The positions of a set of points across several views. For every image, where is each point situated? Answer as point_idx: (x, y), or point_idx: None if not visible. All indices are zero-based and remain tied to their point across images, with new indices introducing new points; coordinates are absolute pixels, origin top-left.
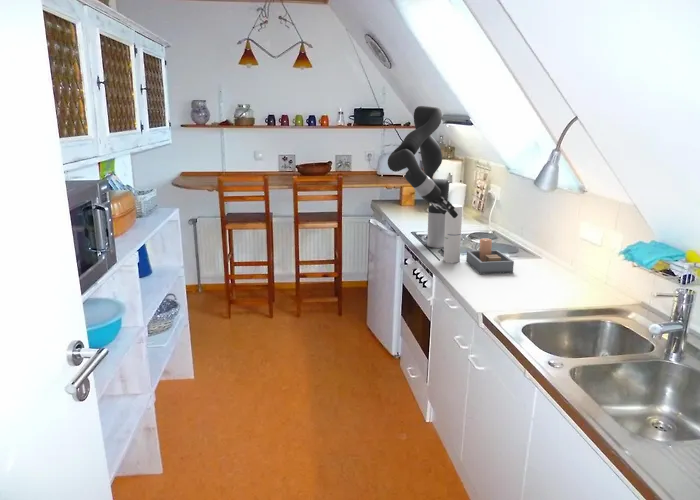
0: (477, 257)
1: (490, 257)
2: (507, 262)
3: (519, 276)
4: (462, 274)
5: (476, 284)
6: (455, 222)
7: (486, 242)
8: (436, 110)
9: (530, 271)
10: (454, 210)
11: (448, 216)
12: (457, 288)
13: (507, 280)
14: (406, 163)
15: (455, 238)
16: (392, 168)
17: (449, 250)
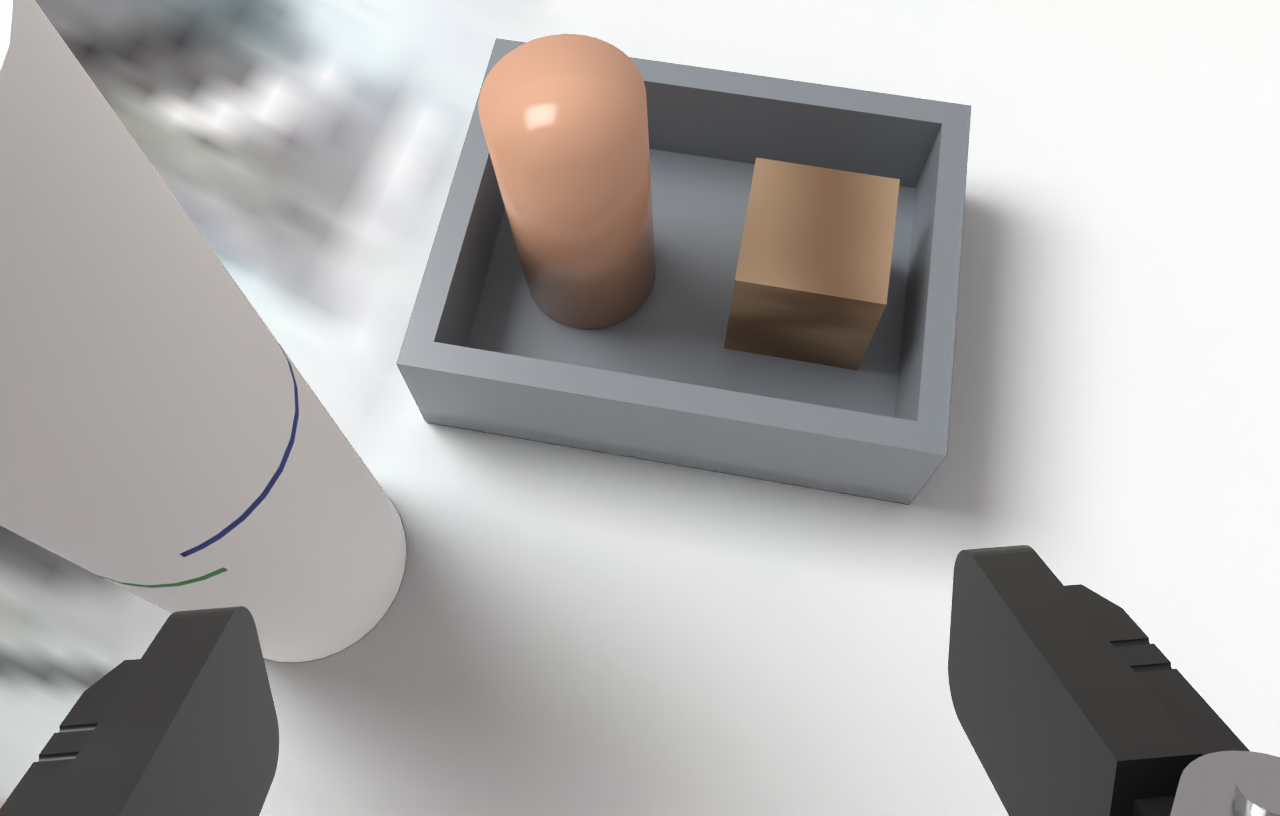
0: (473, 289)
1: (859, 277)
2: (963, 170)
3: (1047, 186)
4: (870, 700)
5: (1257, 722)
6: (194, 344)
7: (638, 140)
8: None
9: (920, 34)
10: (1129, 669)
11: None
12: None
13: (1153, 345)
14: None
15: (312, 461)
16: None
17: (323, 594)
